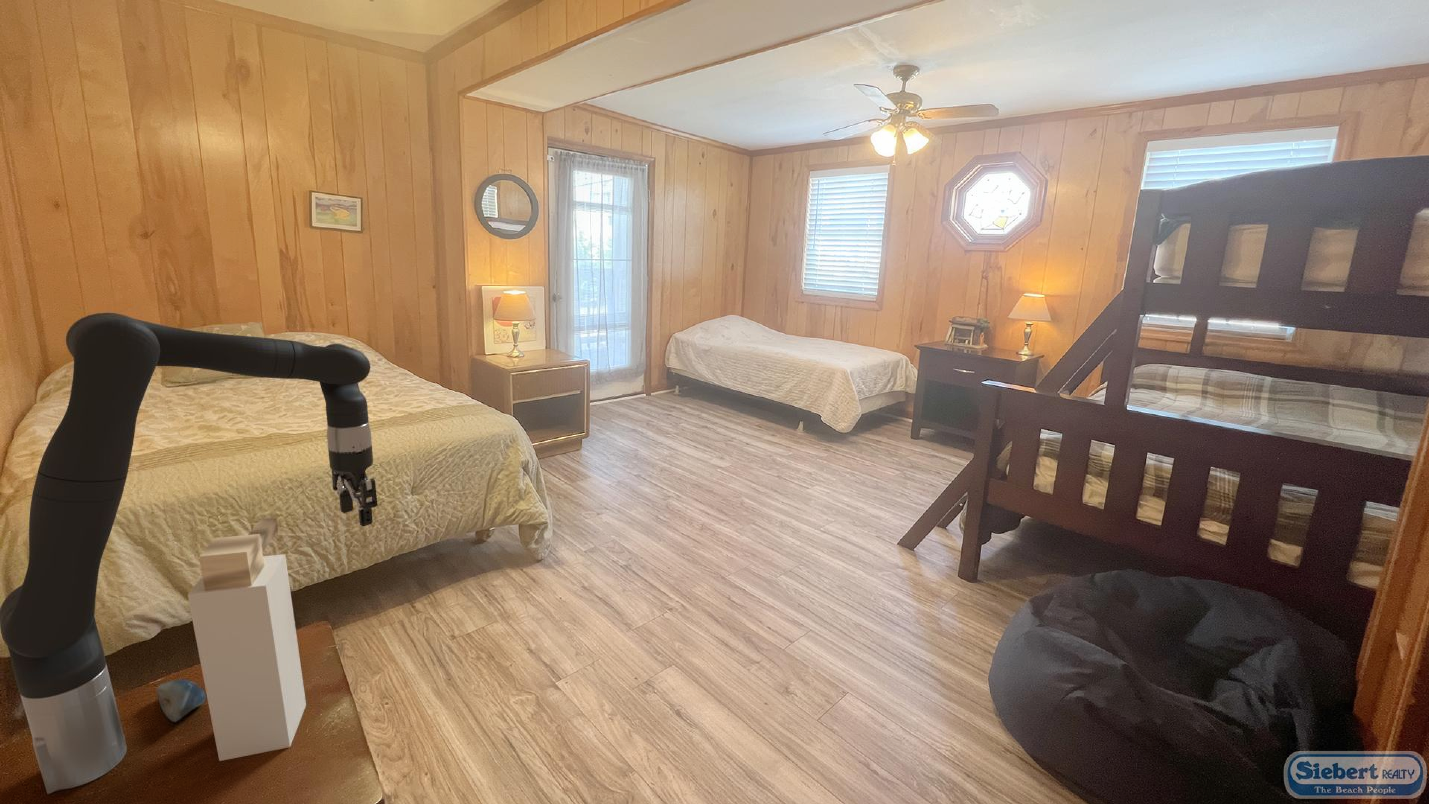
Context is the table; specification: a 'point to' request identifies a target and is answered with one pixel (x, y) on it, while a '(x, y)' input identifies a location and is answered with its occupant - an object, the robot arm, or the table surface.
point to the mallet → (236, 557)
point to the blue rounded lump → (179, 698)
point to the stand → (250, 661)
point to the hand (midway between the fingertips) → (356, 518)
